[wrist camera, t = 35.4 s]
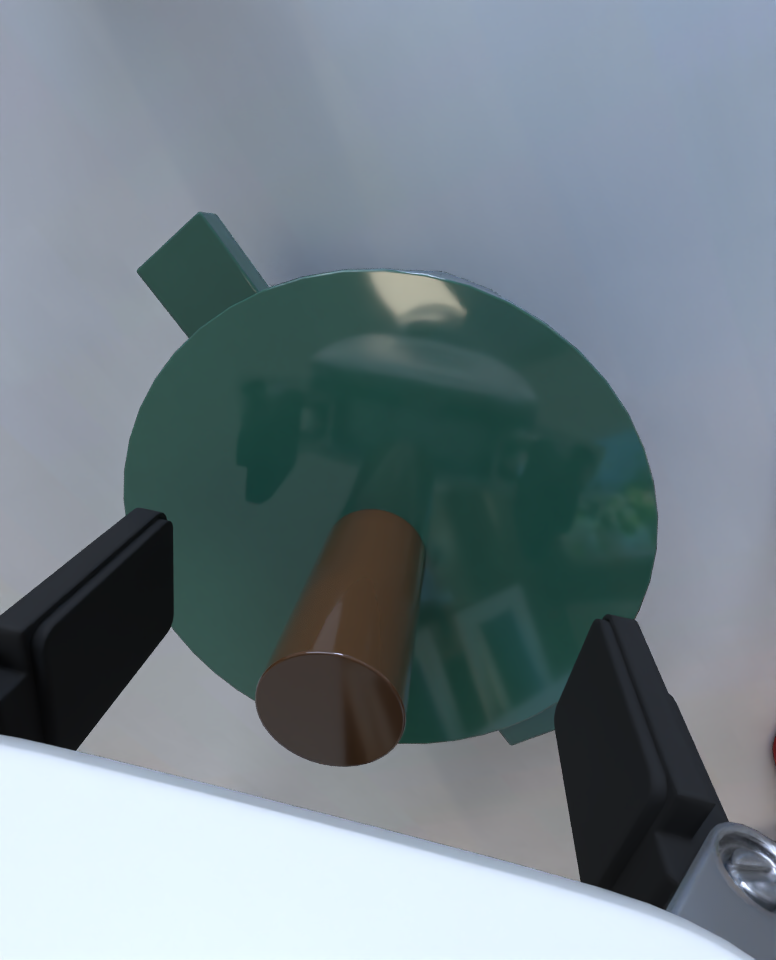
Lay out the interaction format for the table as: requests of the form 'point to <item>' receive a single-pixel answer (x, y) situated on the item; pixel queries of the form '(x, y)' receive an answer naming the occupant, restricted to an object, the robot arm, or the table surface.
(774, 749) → the canned food
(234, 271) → the pot
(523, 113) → the table surface
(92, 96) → the table surface
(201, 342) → the pot lid
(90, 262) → the table surface
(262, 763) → the table surface
